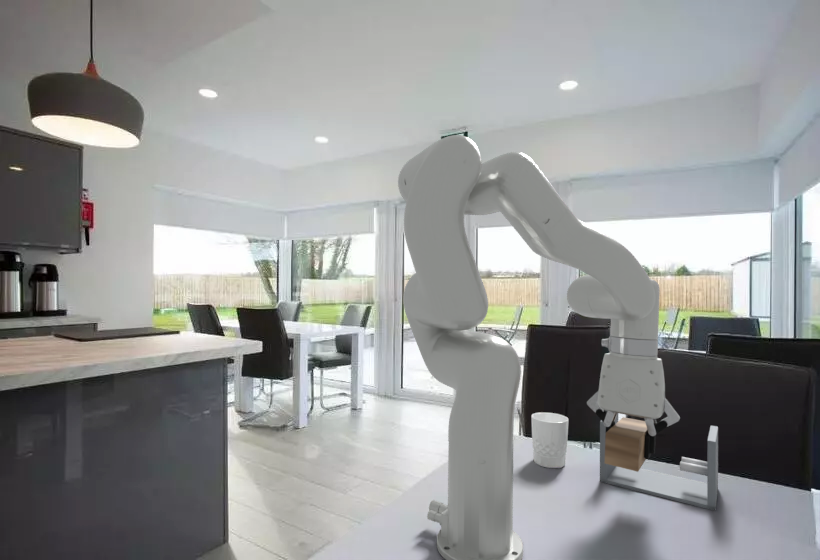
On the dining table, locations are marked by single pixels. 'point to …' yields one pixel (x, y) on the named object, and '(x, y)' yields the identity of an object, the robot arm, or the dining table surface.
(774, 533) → the dining table surface
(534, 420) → the white cup
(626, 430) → the shelf board
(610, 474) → the peg frame
